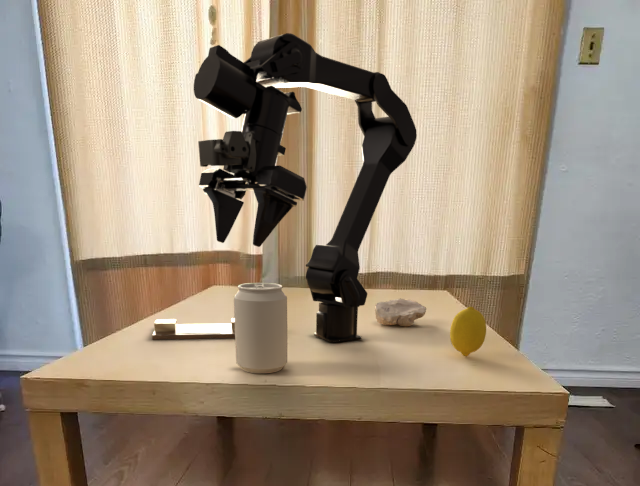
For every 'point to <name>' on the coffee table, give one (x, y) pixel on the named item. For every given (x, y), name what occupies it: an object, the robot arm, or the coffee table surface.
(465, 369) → the coffee table surface
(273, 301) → the can
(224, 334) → the word board
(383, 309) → the whitish grey lumpy stone
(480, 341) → the lemon
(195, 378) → the coffee table surface
